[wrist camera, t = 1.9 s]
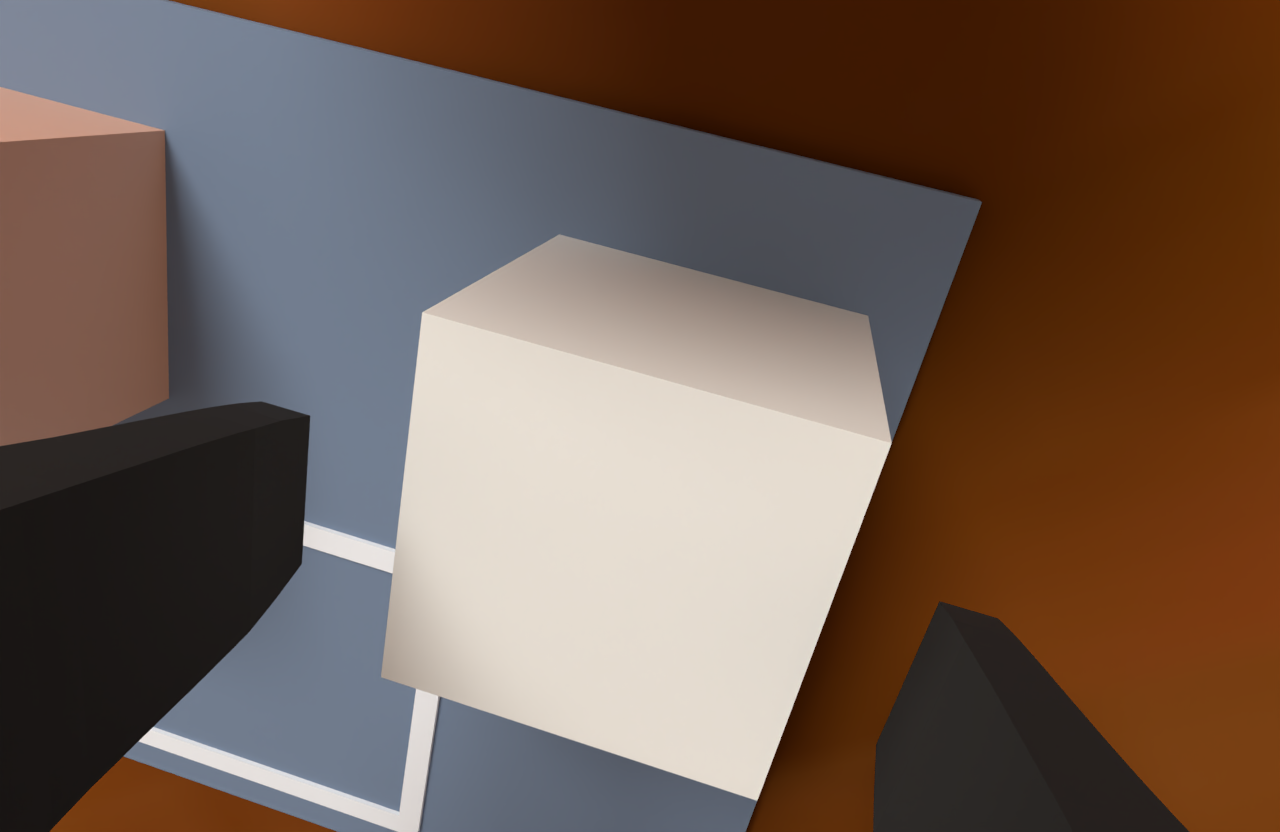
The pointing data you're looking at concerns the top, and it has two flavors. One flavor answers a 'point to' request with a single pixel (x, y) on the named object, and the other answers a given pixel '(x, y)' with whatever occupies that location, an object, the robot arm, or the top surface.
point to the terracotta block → (79, 269)
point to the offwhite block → (631, 503)
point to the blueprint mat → (387, 355)
